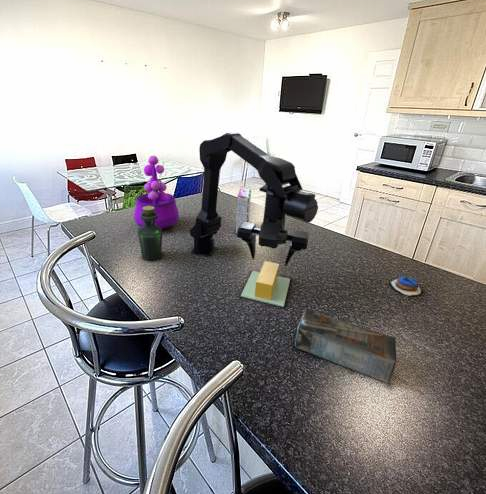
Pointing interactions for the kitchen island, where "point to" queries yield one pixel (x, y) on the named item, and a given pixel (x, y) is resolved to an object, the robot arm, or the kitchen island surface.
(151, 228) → the potion bottle
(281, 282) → the mat
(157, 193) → the decorative plant
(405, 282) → the dessert
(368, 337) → the beverage carton
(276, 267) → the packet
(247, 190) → the candy bar box
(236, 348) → the kitchen island surface
